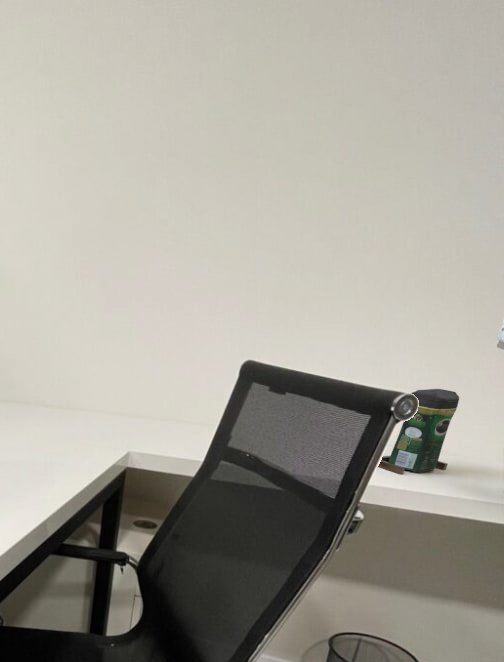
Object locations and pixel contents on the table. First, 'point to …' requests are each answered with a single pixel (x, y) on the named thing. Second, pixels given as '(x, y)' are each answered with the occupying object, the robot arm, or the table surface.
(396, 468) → the walnut bay
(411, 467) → the coffee jar
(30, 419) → the table surface
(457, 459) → the table surface
